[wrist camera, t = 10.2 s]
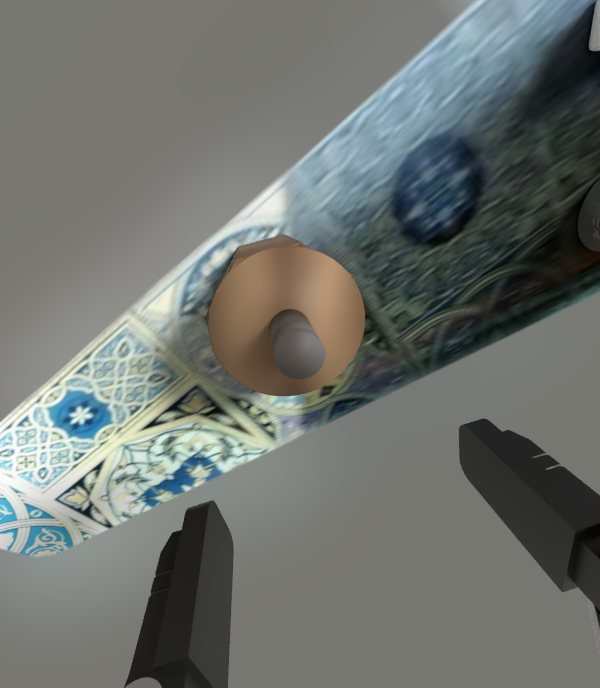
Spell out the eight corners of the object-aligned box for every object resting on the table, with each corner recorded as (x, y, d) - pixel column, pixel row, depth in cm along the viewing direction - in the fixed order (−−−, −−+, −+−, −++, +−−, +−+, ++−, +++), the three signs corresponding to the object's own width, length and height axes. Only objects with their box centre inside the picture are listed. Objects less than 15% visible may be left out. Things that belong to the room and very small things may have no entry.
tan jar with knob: (317, 223, 31) (381, 230, 16) (337, 328, 35) (402, 407, 21) (203, 253, 30) (163, 289, 15) (240, 356, 35) (236, 457, 20)
